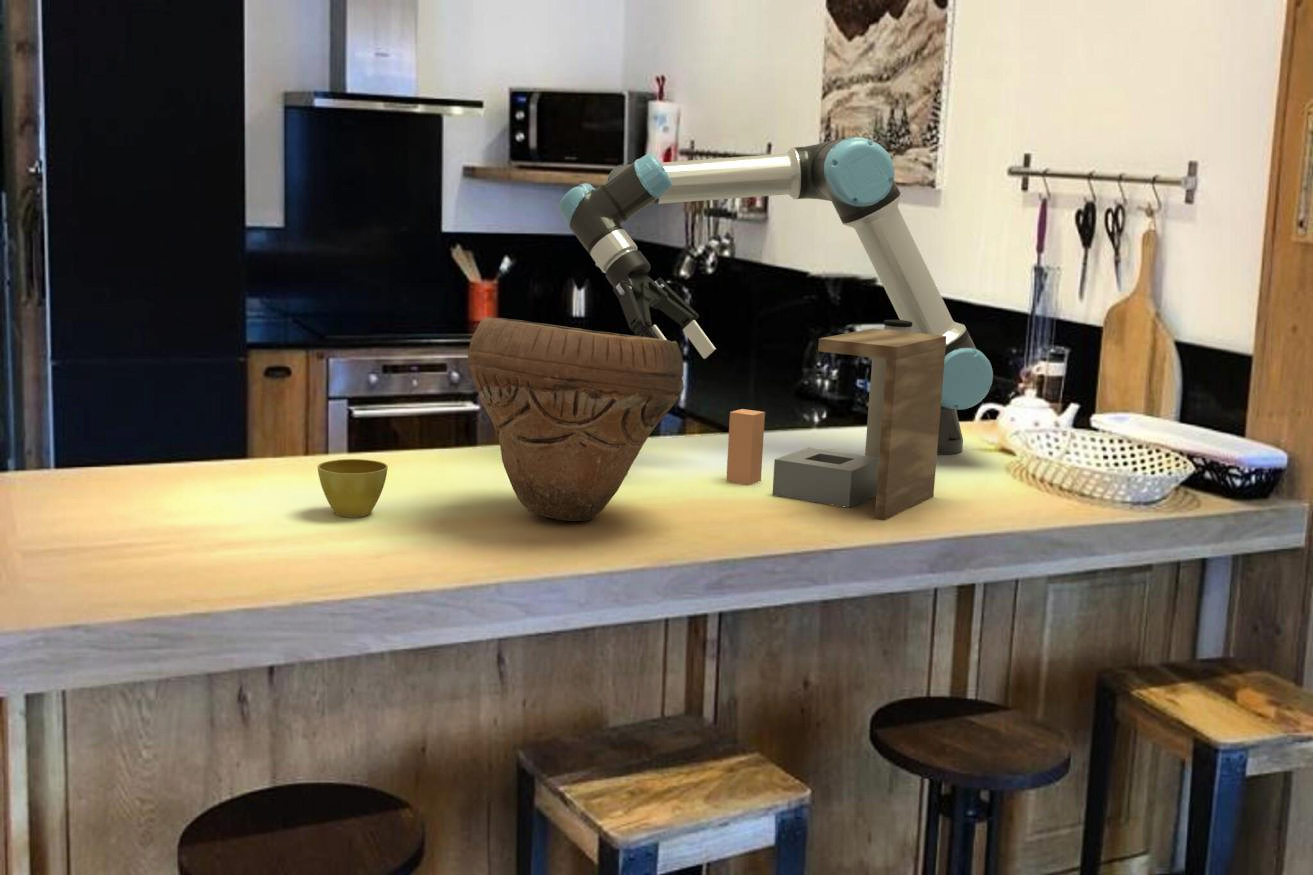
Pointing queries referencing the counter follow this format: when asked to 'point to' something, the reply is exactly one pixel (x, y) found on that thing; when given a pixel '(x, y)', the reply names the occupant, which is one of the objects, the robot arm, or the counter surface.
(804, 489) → the socket
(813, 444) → the counter surface
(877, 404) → the thermos bottle
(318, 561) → the counter surface
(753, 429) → the peg
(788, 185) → the robot arm
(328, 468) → the flower pot
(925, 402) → the wooden l-shaped bracket
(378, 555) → the counter surface
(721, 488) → the counter surface
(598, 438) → the pot
